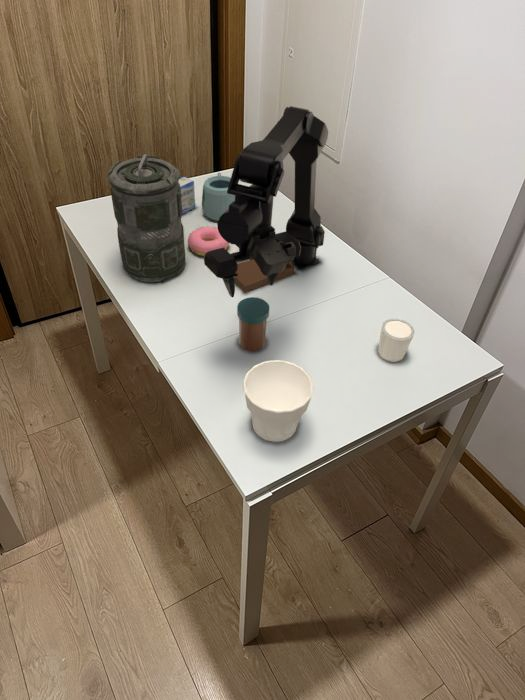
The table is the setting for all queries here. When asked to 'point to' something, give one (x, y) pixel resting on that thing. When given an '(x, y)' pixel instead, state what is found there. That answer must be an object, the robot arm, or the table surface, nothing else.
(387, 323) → the cream cylinder
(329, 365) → the table surface
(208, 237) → the doughnut
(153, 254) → the canister
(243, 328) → the jar
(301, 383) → the cream flower pot
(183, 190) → the medicine box
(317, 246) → the robot arm
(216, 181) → the mug
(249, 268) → the tray
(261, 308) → the lid
